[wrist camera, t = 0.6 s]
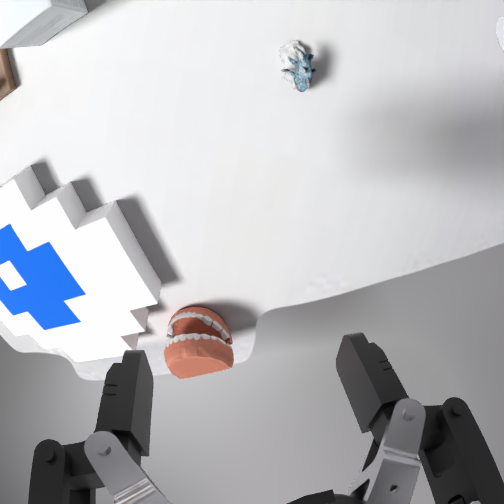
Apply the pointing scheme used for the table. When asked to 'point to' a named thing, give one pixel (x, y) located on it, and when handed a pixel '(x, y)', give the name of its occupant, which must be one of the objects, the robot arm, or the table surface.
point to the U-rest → (5, 75)
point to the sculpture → (296, 65)
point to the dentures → (197, 343)
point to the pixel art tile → (71, 271)
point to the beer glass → (500, 31)
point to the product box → (36, 20)
